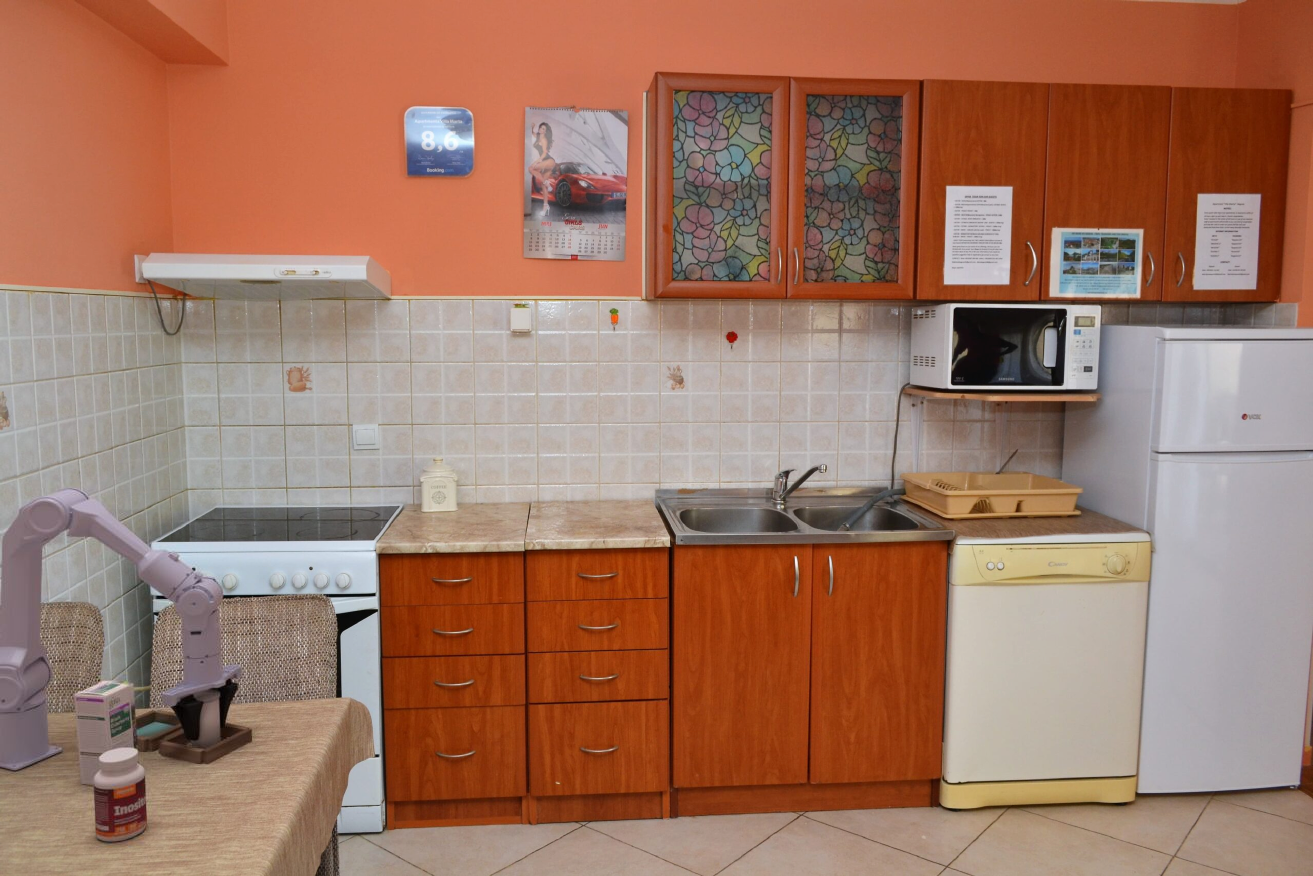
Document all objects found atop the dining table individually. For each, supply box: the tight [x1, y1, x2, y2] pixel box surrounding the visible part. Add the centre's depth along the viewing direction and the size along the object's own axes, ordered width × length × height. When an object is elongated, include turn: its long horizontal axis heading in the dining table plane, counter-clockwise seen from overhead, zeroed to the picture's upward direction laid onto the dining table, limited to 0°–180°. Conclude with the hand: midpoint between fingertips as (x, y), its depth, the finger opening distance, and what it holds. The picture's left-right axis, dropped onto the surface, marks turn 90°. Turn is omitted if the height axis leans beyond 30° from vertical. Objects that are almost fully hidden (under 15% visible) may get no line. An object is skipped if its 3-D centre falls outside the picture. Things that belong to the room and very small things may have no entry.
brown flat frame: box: [136, 709, 253, 765], centre depth 160 cm, size 22×10×2 cm, turn 69°
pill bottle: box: [93, 748, 148, 843], centre depth 130 cm, size 6×6×11 cm
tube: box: [190, 689, 222, 749], centre depth 157 cm, size 5×5×9 cm
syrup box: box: [73, 680, 140, 787], centre depth 146 cm, size 6×6×14 cm
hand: (205, 733), depth 158 cm, fingers open, 5 cm apart
